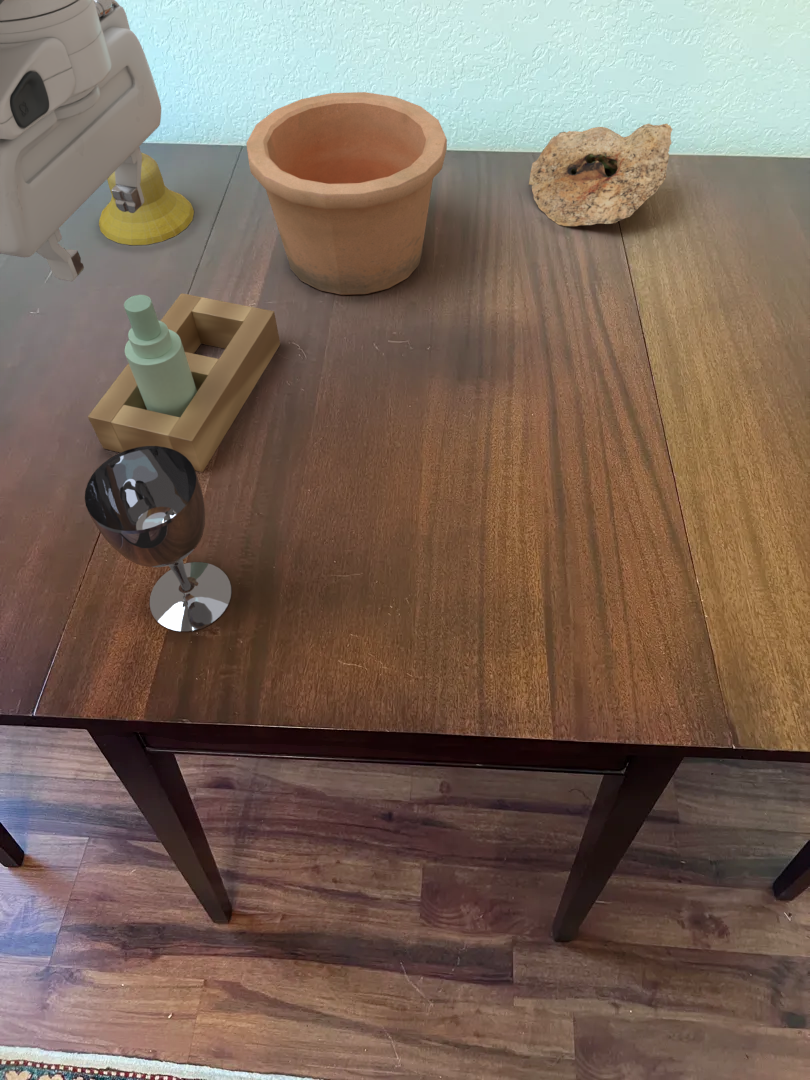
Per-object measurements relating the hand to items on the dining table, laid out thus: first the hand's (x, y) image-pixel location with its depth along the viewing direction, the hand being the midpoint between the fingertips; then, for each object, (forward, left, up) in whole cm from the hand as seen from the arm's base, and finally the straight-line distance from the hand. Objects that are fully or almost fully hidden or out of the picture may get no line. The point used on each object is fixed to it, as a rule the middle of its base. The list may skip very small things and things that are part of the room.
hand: (102, 240), depth 61 cm
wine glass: (+10, -17, -23) cm, 30 cm away
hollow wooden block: (-1, +6, -22) cm, 23 cm away
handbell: (-22, +34, -23) cm, 47 cm away
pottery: (+7, +34, -23) cm, 42 cm away
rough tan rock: (+33, +53, -23) cm, 67 cm away
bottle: (-1, +2, -22) cm, 23 cm away
